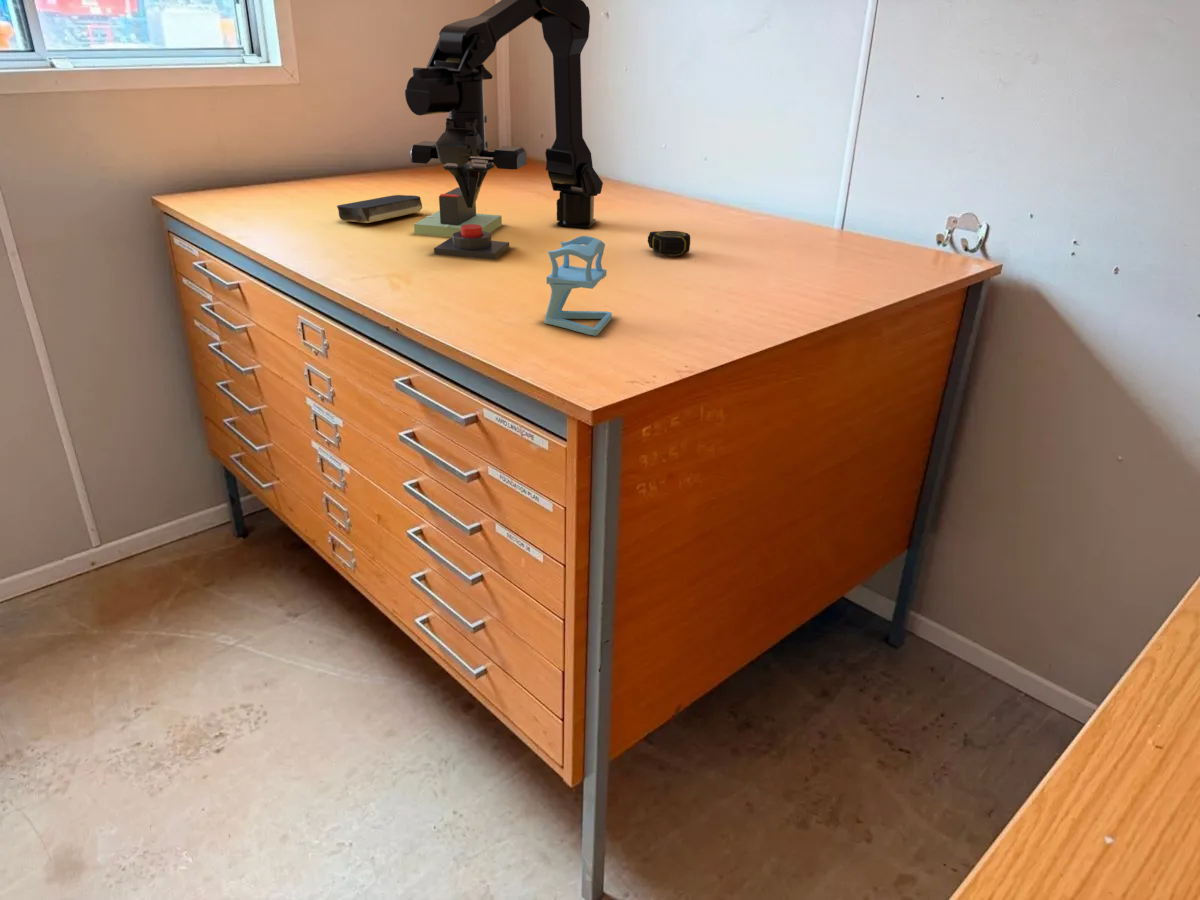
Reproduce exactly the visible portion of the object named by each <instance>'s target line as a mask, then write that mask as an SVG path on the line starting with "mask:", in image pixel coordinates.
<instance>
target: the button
mask: <svg viewBox="0 0 1200 900" xmlns="http://www.w3.org/2000/svg"><path fill="white" fill-rule="evenodd" d="M461 237H466V238H477V237H482V226H480V225H476V224H467V225H463V226H461Z"/></svg>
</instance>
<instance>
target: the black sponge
mask: <svg viewBox="0 0 1200 900" xmlns="http://www.w3.org/2000/svg"><path fill="white" fill-rule="evenodd" d="M336 208H337V209H338V210H337V212H338V217H339V219H340V220H341V221H346V222H351V223H352V222H355V223H362V224H369V223H374V222H379V221H384V220H389V219H393V218H398V217H403V216H406V215H407V216H408V215H410V214H415V213H419V212H421V211H422V209H423V203H422V200H421V196H419V195H412V194H411V195H405V194H393V195H387V196H383V197H376V198H370V199H366V200H365V199H364V200H360V201H354V202H348V203H343V204H338V205H336Z"/></svg>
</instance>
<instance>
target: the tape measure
mask: <svg viewBox="0 0 1200 900" xmlns="http://www.w3.org/2000/svg"><path fill="white" fill-rule="evenodd" d="M647 244H648V247H649V248H650V249H652V250H653V252H654V253H657V254H660V255H666V256H669V257H679V256H680V255H685V254H687V253H689V251H690V249H691V235H690V234H689V233H688V232H684V231H680V230H679V231H678V230H660V231H656V230H655V231H650V232H649V233H648V236H647Z"/></svg>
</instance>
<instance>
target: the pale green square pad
mask: <svg viewBox="0 0 1200 900" xmlns="http://www.w3.org/2000/svg"><path fill="white" fill-rule="evenodd" d="M502 221H503V218H502V215H500V214H489V213H476V215H475V216H473V217H472V218H470V219H468V220H466V221H465V222H463V223H461V224H459V225H451V224H441V223H440V210H438V211H436V212H433V213H432V214H429V215H426V216H425V217H424V218H423V219H421V220H418V221H417V222H415V223H413V227H414V228H413V229H414V235H421V236H430V237H432V236H433V237H445V238H451V237H453V236H452V234H454V233H456V232H460V231H461V226H463V225H467V224H476V225H480V226H482V231H485V232H488V233H490V234H492V233H493V232H494V231H495V230H498V229H499V228H500V227H501V226H503V223H502Z"/></svg>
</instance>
